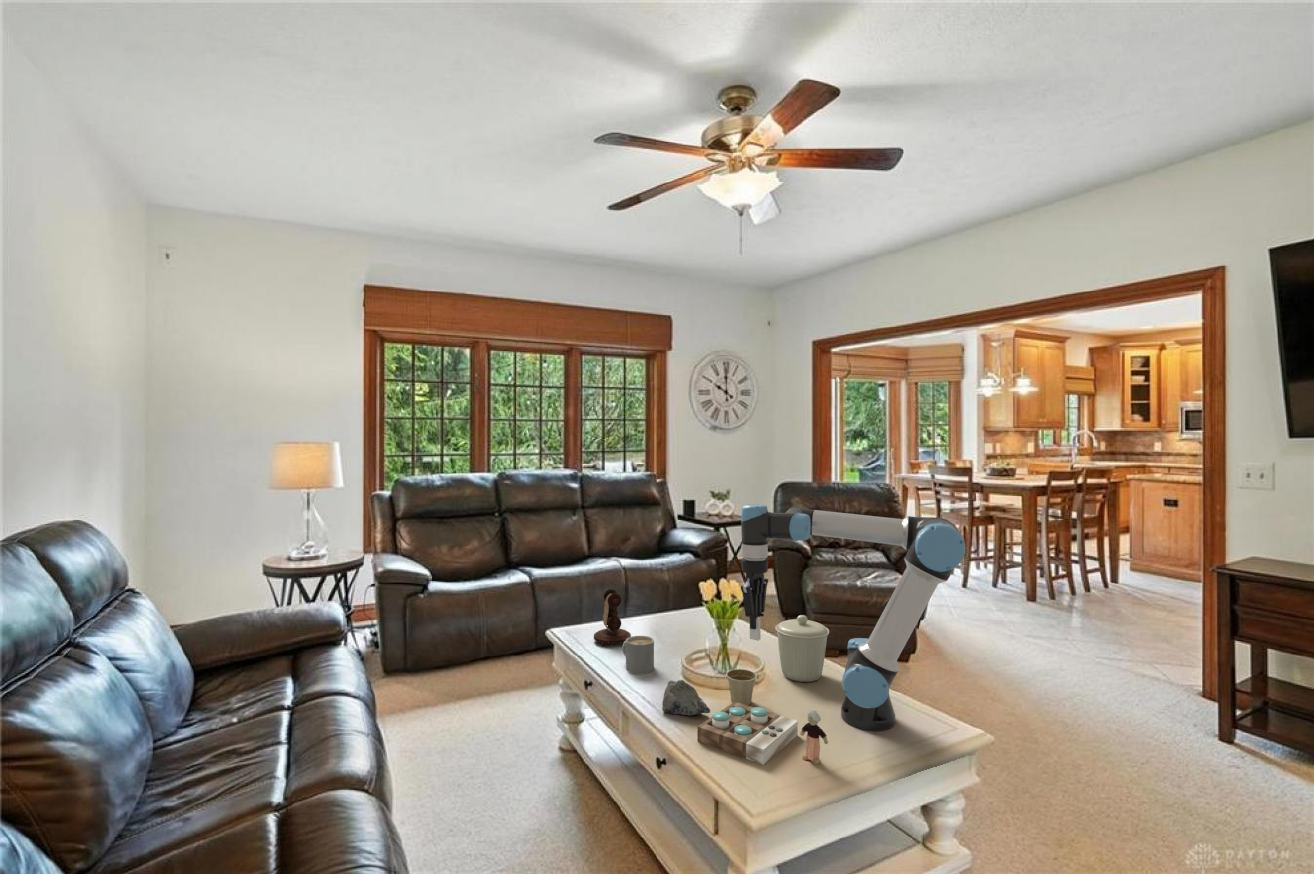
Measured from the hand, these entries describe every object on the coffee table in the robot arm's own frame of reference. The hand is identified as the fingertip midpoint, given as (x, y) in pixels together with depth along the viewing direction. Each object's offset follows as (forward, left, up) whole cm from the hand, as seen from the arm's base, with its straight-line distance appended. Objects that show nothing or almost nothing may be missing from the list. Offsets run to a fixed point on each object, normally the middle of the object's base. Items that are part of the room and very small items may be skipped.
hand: (755, 639), depth 185 cm
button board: (-4, +11, -24) cm, 26 cm away
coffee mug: (+53, -11, -24) cm, 60 cm away
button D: (+2, +15, -22) cm, 26 cm away
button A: (-5, +6, -22) cm, 23 cm away
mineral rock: (+18, +9, -24) cm, 32 cm away
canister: (+3, -39, -24) cm, 46 cm away
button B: (-5, +15, -23) cm, 28 cm away
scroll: (+78, -26, -24) cm, 86 cm away
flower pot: (+9, -8, -24) cm, 27 cm away
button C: (+2, +6, -23) cm, 24 cm away
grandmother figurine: (-23, +11, -24) cm, 35 cm away
